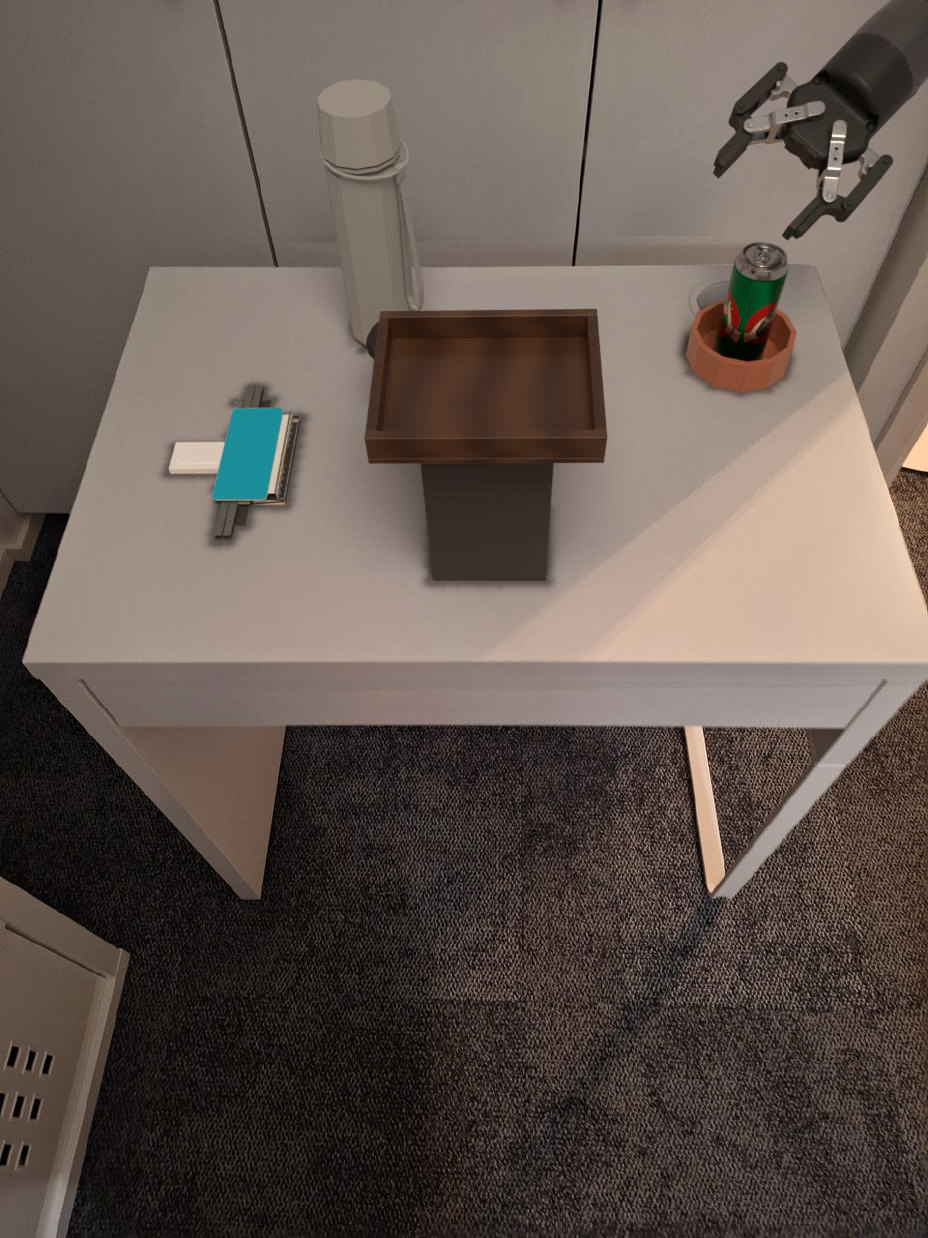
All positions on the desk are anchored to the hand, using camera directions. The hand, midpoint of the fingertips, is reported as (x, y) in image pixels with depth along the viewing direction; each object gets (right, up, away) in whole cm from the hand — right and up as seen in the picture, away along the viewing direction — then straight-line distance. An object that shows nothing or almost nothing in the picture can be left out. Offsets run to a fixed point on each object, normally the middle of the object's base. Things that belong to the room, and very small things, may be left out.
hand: (751, 203), depth 82 cm
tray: (-24, -21, -14) cm, 35 cm away
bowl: (+3, -10, +13) cm, 17 cm away
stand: (-24, -31, +1) cm, 39 cm away
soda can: (+3, -10, +14) cm, 17 cm away
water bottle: (-34, -7, +18) cm, 39 cm away
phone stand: (-49, -22, +8) cm, 54 cm away
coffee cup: (-31, -16, +11) cm, 37 cm away
